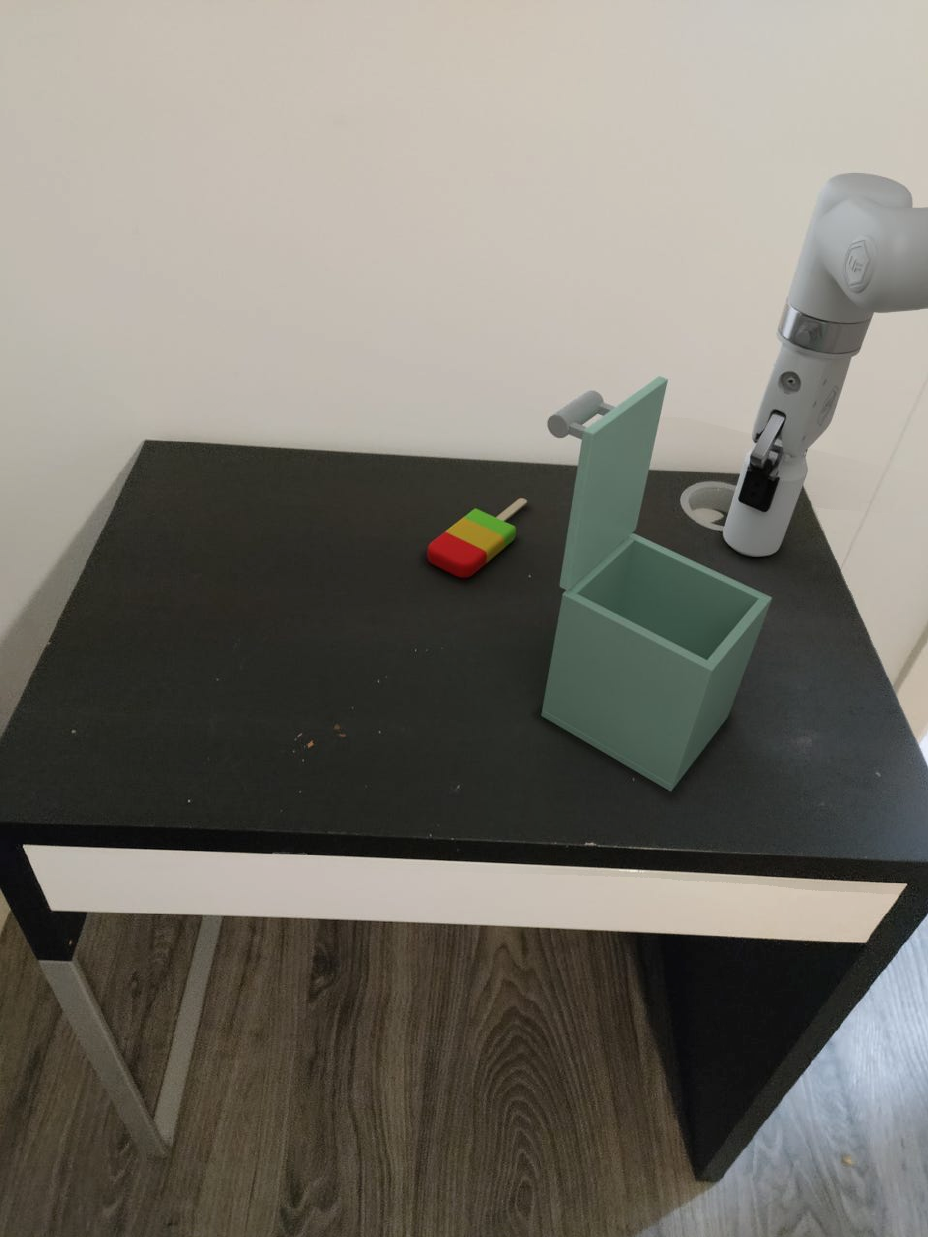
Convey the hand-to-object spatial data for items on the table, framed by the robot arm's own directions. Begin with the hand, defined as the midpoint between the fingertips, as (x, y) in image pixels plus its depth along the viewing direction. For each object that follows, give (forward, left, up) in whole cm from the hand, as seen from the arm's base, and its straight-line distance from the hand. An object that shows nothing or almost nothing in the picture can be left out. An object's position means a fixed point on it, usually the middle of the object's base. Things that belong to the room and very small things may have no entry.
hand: (767, 490), depth 96 cm
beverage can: (0, 0, -7) cm, 7 cm away
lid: (+11, +28, +14) cm, 33 cm away
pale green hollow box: (+5, +30, -7) cm, 31 cm away
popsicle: (+26, +12, -7) cm, 30 cm away
